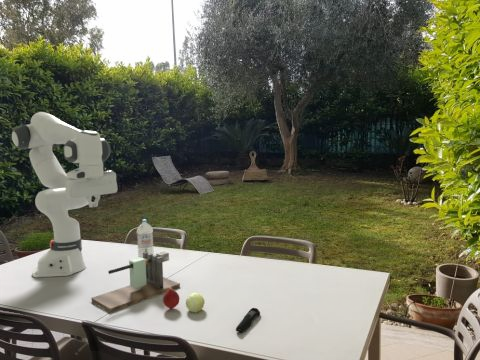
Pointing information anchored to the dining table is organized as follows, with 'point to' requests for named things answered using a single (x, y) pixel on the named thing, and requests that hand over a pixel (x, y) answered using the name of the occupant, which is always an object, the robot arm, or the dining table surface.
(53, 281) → the dining table surface
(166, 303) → the onion
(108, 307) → the cord rig
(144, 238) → the water bottle
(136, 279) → the sleeve
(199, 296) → the tennis ball
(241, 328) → the electric trimmer
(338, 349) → the dining table surface
